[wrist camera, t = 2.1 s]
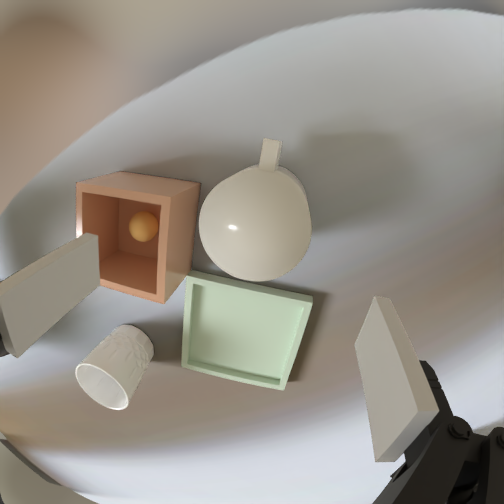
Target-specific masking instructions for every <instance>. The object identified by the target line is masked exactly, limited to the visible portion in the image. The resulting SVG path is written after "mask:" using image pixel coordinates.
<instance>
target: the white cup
mask: <svg viewBox="0 0 504 504" xmlns="http://www.w3.org/2000/svg"><path fill="white" fill-rule="evenodd" d="M153 355H154V348H153V344H152V343H151V341H150V339H149V337H148V336H147V335H146V334H145V333H144V332H143V331H141V330H140V329H138V328H136V327H134V326H132V325H121V326H119V327H116V328H115V329H114V330H113V331H112V332H111V333H110V335H108V336H107V337H106V338H105V339H103V341H102V342H101V343H99V344H98V345H97V346H96V347H95V348H94V349H93V350H92V351H91V352H90V354H89V355H88V356H87V357H86V358H85V359H84V360H83V361H82V362H81V363H80V364H79V365H78V366H77V367H76V371H75V374H76V378H77V380H78V382H79V384H80V386H81V387H82V389H83V390H84V391H85V392H86V393H87V394H88V395H89V396H90V397H91V398H92V399H94V400H95V401H96V402H98V403H99V404H101V405H103V406H105V407H108V408H111V409H115V410H122V409H125V408H126V407H127V406H128V404H129V402H130V400H131V399H132V397H133V395H134V393H135V391H136V389H137V387H138V385H139V384H140V382H141V379H142V377H143V376H144V373H145V371H146V370H147V366H148V364H149V362H150V360H151V358H152V357H153Z"/></svg>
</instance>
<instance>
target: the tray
mask: <svg viewBox="0 0 504 504" xmlns="http://www.w3.org/2000/svg"><path fill="white" fill-rule="evenodd" d="M312 304H313V297H312V296H310V295H305V294H300V293H295V292H290V291H285V290H281V289H276V288H271V287H266V286H262V285H257V284H252V283H248V282H243V281H239V280H234V279H230V278H225V277H221V276H216V275H212V274H208V273H203V272H199V271H195V270H191V271H190V272H189V273H188V274H187V277H186V290H185V304H184V320H183V338H182V362H181V367H184V368H188V369H192V370H195V371H199V372H203V373H206V374H210V375H214V376H218V377H222V378H226V379H231V380H235V381H239V382H244V383H248V384H253V385H258V386H263V387H268V388H273V389H278V390H284V388H285V385H286V383H287V380H288V377H289V374H290V371H291V369H292V366H293V363H294V360H295V357H296V354H297V351H298V348H299V345H300V342H301V339H302V336H303V333H304V330H305V327H306V324H307V321H308V317H309V314H310V311H311V308H312Z"/></svg>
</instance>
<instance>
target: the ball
mask: <svg viewBox="0 0 504 504" xmlns="http://www.w3.org/2000/svg"><path fill="white" fill-rule="evenodd" d="M129 231H130V234H131V235H132V237H133V238H134V239H136V240H138V241H141V242H146V241H149V240H151V239H153V238H154V237H155V235H156V234H157V232H158V221H157V219H156V217H155V216H154V215H153V214H152V213H150V212H147V211H141V212H138V213H136V214H135V215H134V216H133V217H132V218H131V220H130V222H129Z"/></svg>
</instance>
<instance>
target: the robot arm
mask: <svg viewBox="0 0 504 504" xmlns="http://www.w3.org/2000/svg"><path fill="white" fill-rule="evenodd" d="M98 286H100V272H99V250H98V235H94V234H90V233H85V234H83V235H81V236H79V237H77V238H75V239H74V240H72V241H70V242H68V243H66V244H64V245H63V246H61V247H59V248H57V249H55V250H54V251H52V252H50V253H48V254H47V255H45V256H43V257H41V258H40V259H38V260H36V261H35V262H33V263H31V264H30V265H28V266H26V267H25V268H23V269H21V270H19V271H17V272H16V273H14V274H13V275H11V276H10V277H8V278H6V279H5V280H4V281H2V282H0V357H2V356H5V355H8V354H12V355H13V356H15V357H16V358H19V357H20V356H21V355H22V354H23V353H24V352H25V351H26V350H27V349H28V348H29V347H30V346H31V345H33V344H34V343H35V342H36V341H37V340H38V339H39V338H40V337H41V336H42V335H43V334H44V333H46V332H47V331H48V330H49V329H50V328H51V327H52V326H53V325H54V324H55V323H57V322H58V321H59V320H60V319H61V318H62V317H63V316H64V315H66V314H67V313H68V312H69V311H70V310H71V309H72V308H74V307H75V306H76V305H77V304H78V303H79V302H81V301H82V300H83V299H84V298H85V297H86V296H88V295H89V294H90V293H91V292H92V291H94V290H95V289H96V288H97V287H98ZM355 349H356V354H357V359H358V363H359V368H360V373H361V378H362V383H363V389H364V394H365V399H366V405H367V411H368V417H369V423H370V429H371V435H372V442H373V449H374V456H375V462H395V461H396V460H397V459H398V458H399V457H400V456H401V455H402V454H403V453H404V454H405V459H406V462H405V463H404V464H403V465H402V466H401V467H399V468H398V469H397V470H396V471H395V472H394V473H393V474H392V475H391V476H390V477H392V479H391V481H390V482H389V483H388V485H387V486H386V487H385V489H384V490H383V491H382V492H381V494H380V495H379V496H378V497H377V499H376V500H375V501H374V502H373V504H504V428H503V427H496V428H494V429H493V430H492V431H491V432H490V434H489V435H488V436H484V435H479V434H475V433H473V432H472V428H471V427H470V425H469V424H468V423H467V422H466V421H465V420H464V419H462V418H460V417H457V416H453V413H452V411H451V408H450V406H449V403H448V401H447V399H446V396H445V394H444V392H443V389H441V388H442V387H441V385H440V382H438V378H437V376H436V374H435V371H434V370H433V368H432V367H431V366H430V365H429V364H428V363H427V362H426V361H421V360H419V359H418V357H417V355H416V353H415V350H414V348H413V346H412V344H411V342H410V339H409V337H408V335H407V333H406V331H405V329H404V327H403V325H402V323H401V320H400V318H399V316H398V314H397V312H396V310H395V308H394V306H393V304H392V302H391V300H390V298H385V297H379V296H374V298H373V301H372V303H371V306H370V309H369V311H368V314H367V316H366V319H365V321H364V323H363V326H362V328H361V331H360V333H359V335H358V338H357V340H356V342H355ZM0 504H4V503H3V501H2V498H1V495H0Z"/></svg>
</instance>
